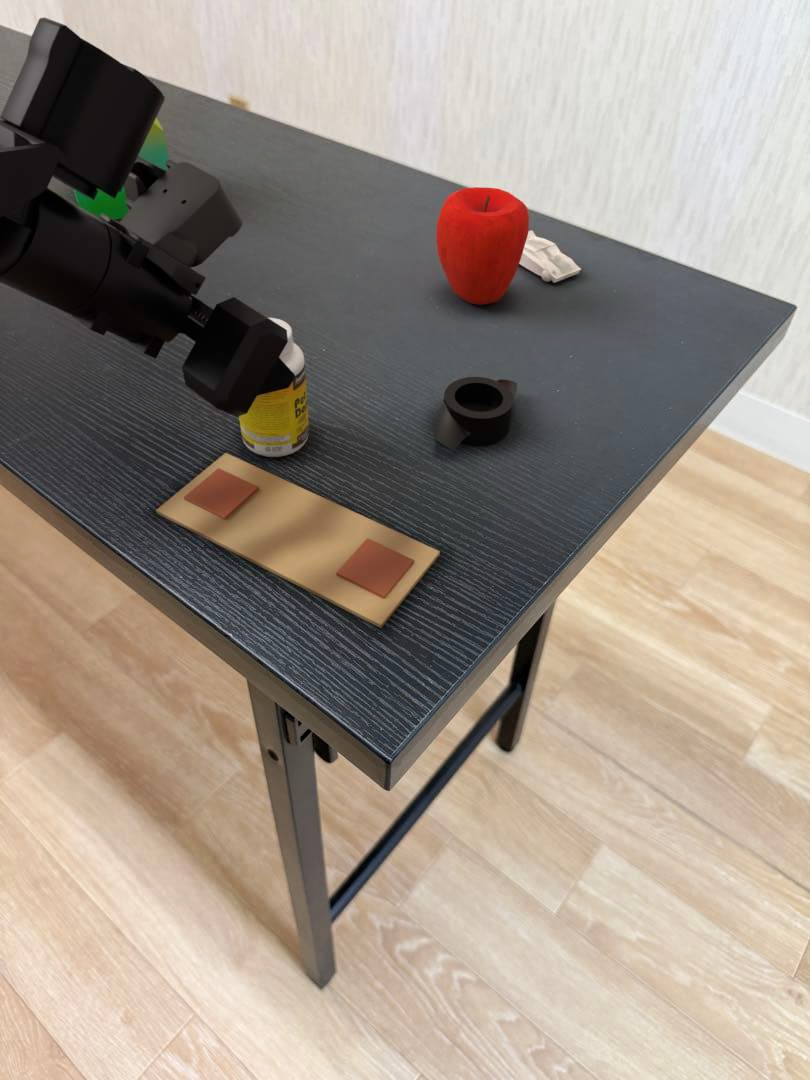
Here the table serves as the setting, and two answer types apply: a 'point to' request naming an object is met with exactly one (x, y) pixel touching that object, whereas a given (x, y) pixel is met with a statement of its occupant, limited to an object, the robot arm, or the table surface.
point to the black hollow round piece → (475, 412)
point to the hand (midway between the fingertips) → (251, 354)
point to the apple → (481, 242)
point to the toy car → (546, 259)
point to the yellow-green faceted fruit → (116, 207)
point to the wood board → (302, 537)
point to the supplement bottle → (279, 410)
